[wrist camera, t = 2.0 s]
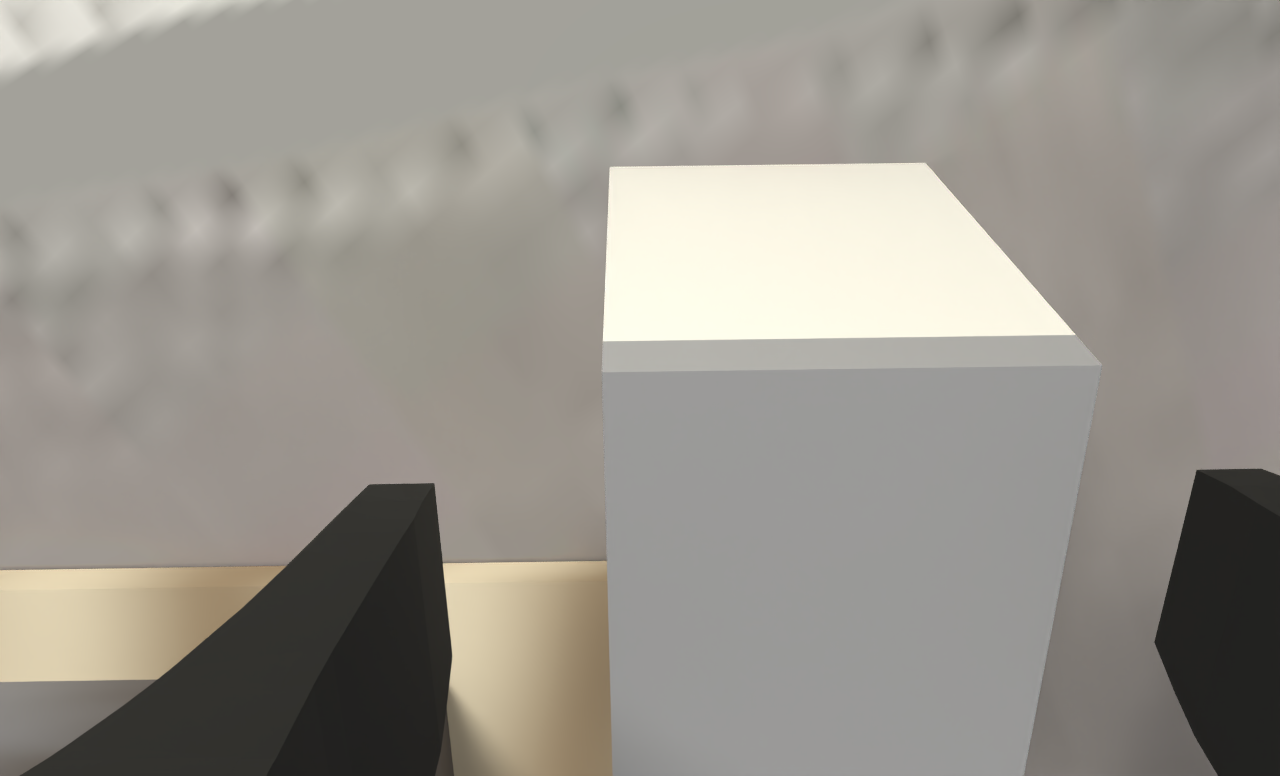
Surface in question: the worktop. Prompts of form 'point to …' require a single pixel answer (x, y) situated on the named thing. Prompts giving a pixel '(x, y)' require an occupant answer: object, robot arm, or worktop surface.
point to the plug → (829, 475)
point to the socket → (209, 596)
